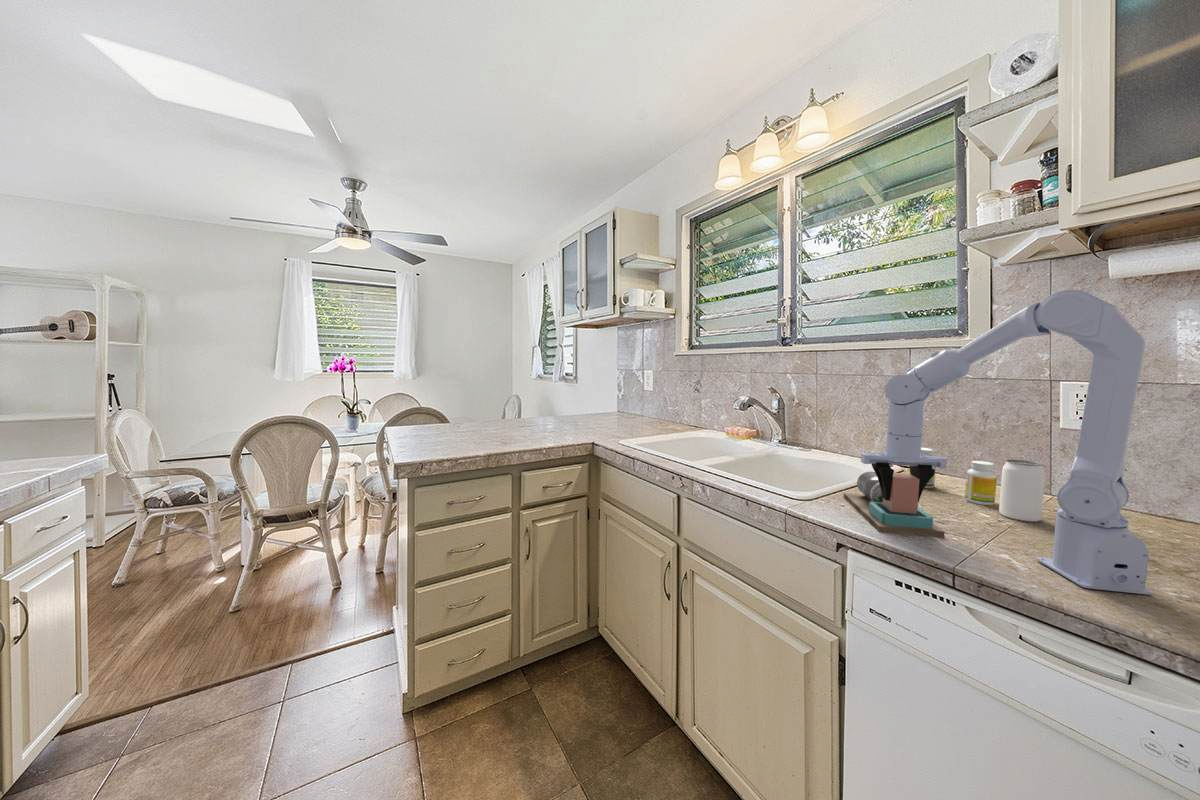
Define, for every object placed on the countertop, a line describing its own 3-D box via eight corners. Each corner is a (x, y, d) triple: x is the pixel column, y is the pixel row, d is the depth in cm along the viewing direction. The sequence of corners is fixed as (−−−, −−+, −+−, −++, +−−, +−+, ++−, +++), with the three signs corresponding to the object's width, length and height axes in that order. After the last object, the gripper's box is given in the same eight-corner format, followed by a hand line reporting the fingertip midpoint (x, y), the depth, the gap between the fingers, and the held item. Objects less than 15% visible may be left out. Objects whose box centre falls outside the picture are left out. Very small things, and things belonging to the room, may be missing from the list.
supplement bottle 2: (958, 498, 104) (961, 460, 103) (979, 498, 104) (982, 459, 103) (979, 505, 98) (982, 465, 98) (1001, 505, 99) (1004, 465, 98)
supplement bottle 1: (913, 482, 118) (915, 446, 118) (937, 486, 114) (940, 449, 113) (904, 485, 115) (907, 448, 114) (929, 490, 111) (932, 451, 110)
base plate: (944, 537, 80) (944, 531, 80) (879, 531, 83) (879, 526, 83) (893, 500, 102) (894, 496, 102) (843, 496, 105) (843, 492, 105)
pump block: (917, 513, 84) (919, 479, 84) (891, 511, 85) (893, 477, 85) (906, 506, 89) (909, 473, 88) (882, 504, 90) (884, 472, 89)
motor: (906, 514, 90) (908, 484, 90) (873, 511, 92) (874, 482, 92) (884, 497, 102) (886, 471, 101) (855, 495, 103) (856, 469, 103)
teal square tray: (934, 529, 82) (935, 519, 82) (883, 524, 84) (883, 515, 84) (913, 513, 90) (914, 504, 90) (867, 510, 92) (867, 501, 92)
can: (1049, 523, 87) (1055, 466, 86) (1013, 521, 89) (1017, 465, 88) (1025, 513, 94) (1029, 459, 93) (991, 511, 95) (995, 458, 94)
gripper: (935, 432, 88) (931, 496, 89) (857, 429, 91) (854, 491, 92) (954, 438, 81) (949, 507, 82) (869, 435, 84) (865, 501, 86)
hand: (900, 499), depth 87 cm, fingers closed on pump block, 4 cm apart
